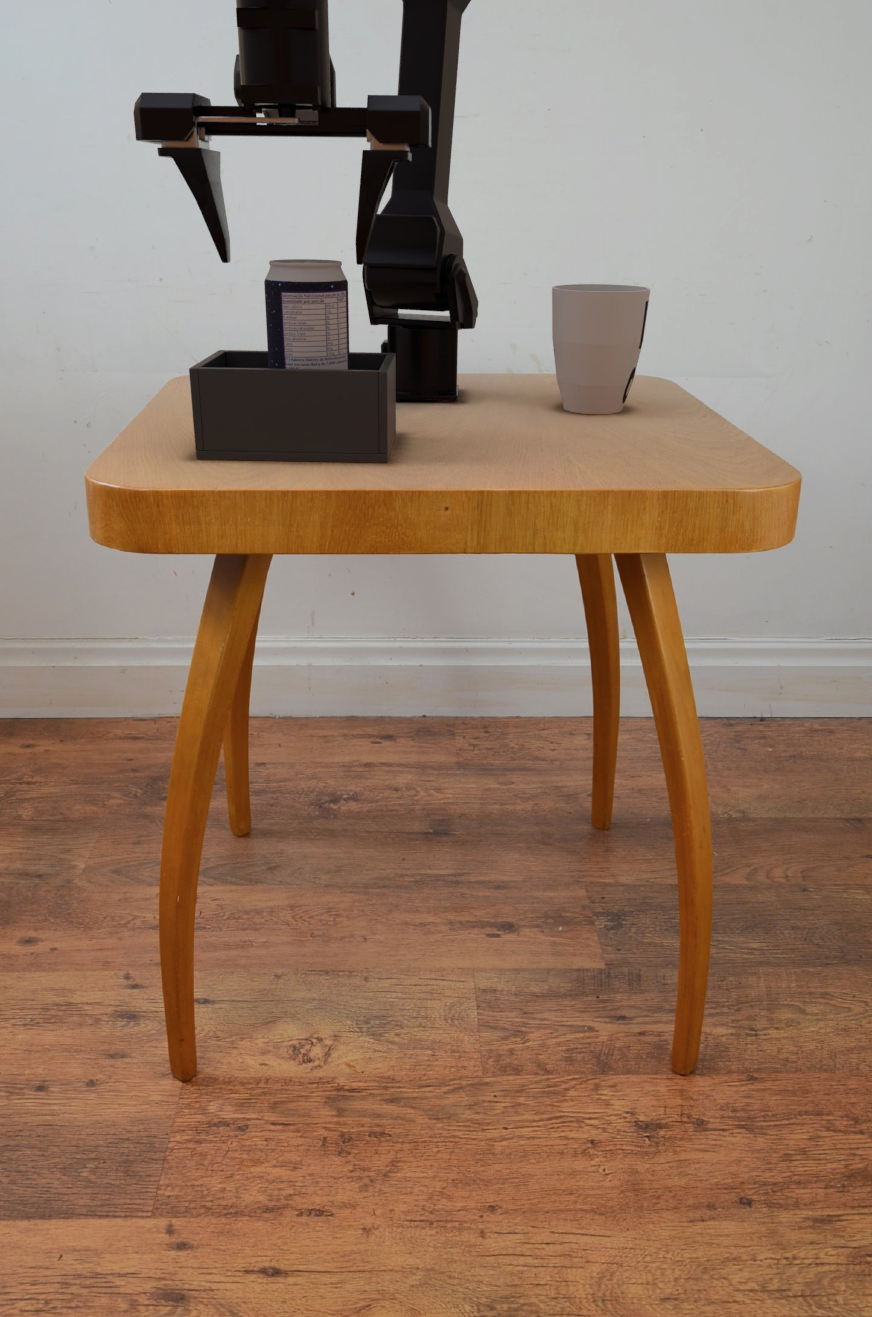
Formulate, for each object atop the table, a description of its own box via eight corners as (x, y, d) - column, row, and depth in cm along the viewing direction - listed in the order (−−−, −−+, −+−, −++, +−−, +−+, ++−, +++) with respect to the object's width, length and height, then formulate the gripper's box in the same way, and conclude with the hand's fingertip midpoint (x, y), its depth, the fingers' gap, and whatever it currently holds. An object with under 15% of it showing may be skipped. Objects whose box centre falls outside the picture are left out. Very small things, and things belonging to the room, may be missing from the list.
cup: (653, 416, 88) (664, 291, 84) (559, 418, 86) (567, 291, 82) (621, 399, 95) (631, 283, 91) (535, 401, 94) (541, 283, 90)
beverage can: (363, 433, 77) (360, 260, 72) (331, 449, 72) (326, 264, 67) (293, 427, 79) (286, 258, 74) (258, 442, 74) (248, 261, 69)
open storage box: (395, 434, 80) (395, 352, 77) (387, 462, 71) (387, 371, 69) (224, 431, 80) (218, 349, 77) (196, 459, 71) (188, 368, 69)
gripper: (434, 18, 72) (431, 259, 79) (166, 15, 72) (186, 255, 79) (429, -11, 62) (427, 268, 68) (118, -14, 62) (145, 264, 69)
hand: (293, 263), depth 71 cm, fingers open, 9 cm apart
